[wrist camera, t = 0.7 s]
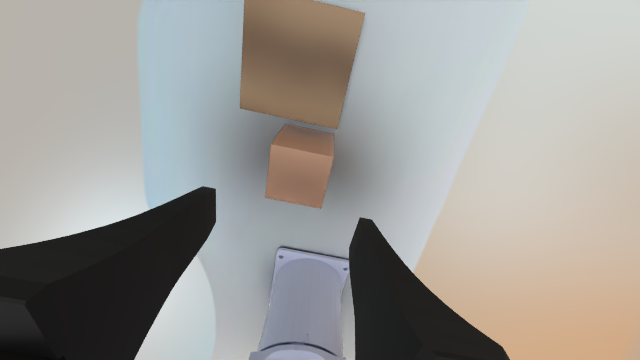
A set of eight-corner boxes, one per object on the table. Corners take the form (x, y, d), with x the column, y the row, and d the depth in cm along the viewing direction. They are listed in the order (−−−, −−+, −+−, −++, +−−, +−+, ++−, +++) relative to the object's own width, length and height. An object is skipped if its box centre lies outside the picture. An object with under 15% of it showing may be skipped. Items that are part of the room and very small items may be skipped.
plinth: (336, 122, 19) (337, 129, 17) (248, 103, 19) (239, 108, 17) (361, 17, 16) (365, 13, 14) (255, -8, 15) (245, -16, 13)
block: (323, 176, 21) (321, 208, 17) (279, 167, 21) (265, 197, 17) (334, 133, 19) (334, 157, 15) (285, 123, 19) (271, 144, 15)
